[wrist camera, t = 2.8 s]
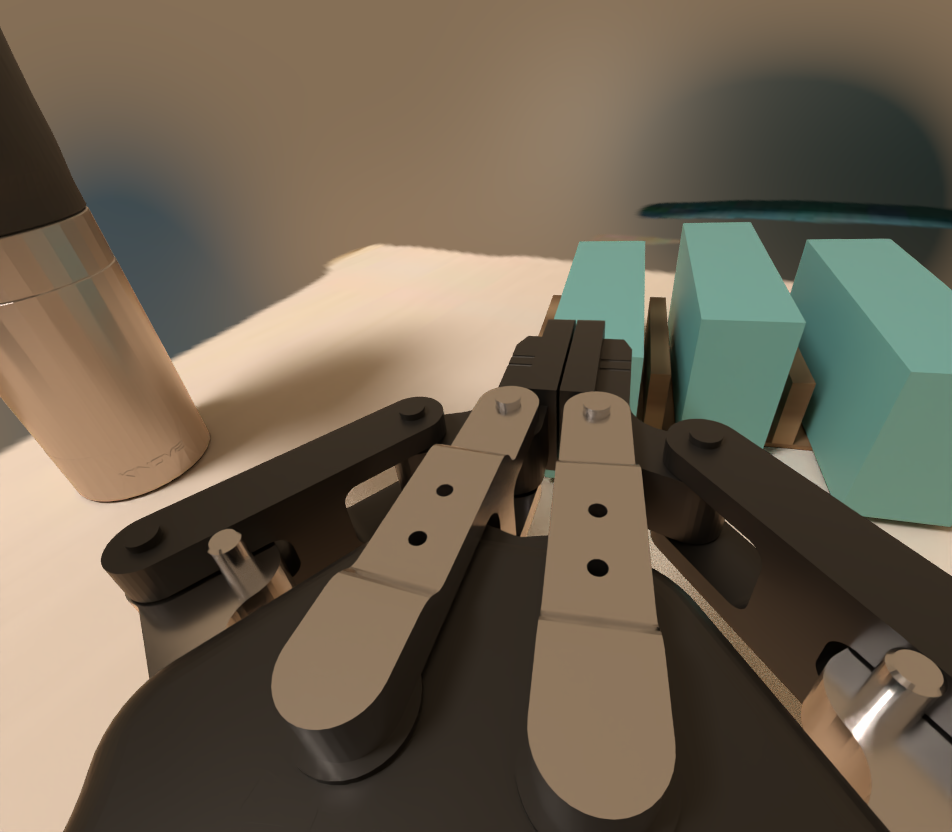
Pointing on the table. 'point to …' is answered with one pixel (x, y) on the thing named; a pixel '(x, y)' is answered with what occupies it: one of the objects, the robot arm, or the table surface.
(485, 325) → the table surface
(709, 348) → the plunger middle
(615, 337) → the plunger
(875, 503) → the plunger
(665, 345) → the slot block
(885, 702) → the robot arm
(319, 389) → the table surface
